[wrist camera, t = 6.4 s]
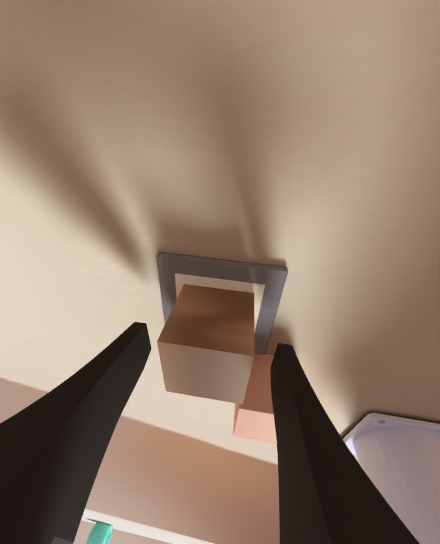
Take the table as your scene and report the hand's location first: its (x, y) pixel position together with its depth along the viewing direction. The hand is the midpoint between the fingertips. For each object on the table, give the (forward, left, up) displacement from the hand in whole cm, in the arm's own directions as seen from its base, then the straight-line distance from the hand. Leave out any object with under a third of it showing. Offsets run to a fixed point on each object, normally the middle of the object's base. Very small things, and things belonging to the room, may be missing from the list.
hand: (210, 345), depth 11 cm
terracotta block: (-4, +6, -3) cm, 8 cm away
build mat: (0, 0, -3) cm, 3 cm away
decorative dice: (+50, +159, -3) cm, 167 cm away
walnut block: (0, 0, -2) cm, 2 cm away
